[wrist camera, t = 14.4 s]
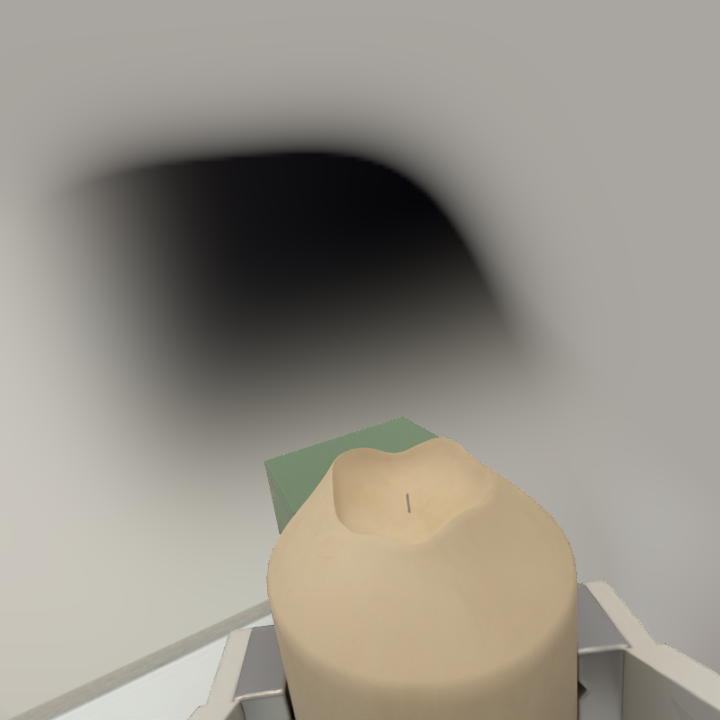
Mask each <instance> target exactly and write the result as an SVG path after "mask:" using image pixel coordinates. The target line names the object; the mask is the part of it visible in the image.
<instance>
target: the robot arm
mask: <svg viewBox="0 0 720 720" xmlns="http://www.w3.org/2000/svg"><path fill="white" fill-rule="evenodd" d="M187 720H296V719H295V715H294V710H293V706H292V701H291V697H290V692H289V688H288V683H287V679H286V674H285V670H284V665H283V661H282V656H281V652H280V648H279V643H278V639H277V634H276V630H275V625H269V626H260V627H254V628H245V629H236V630H232V632H231V633H230V635H229V636H228V638H227V641H226V644H225V647H224V650H223V654H222V657H221V660H220V663H219V666H218V669H217V672H216V675H215V678H214V681H213V684H212V688H211V691H210V694H209V697H208V700H207V703H206V705H204V706H199V707H198V708H197V709H196V710H195V711H194V712H193V714H192V715H191V716H190V717H189V718H188V719H187ZM577 720H720V675H719V674H718V673H716V672H714V671H713V670H711V669H709V668H707V667H706V666H704V665H702V664H700V663H699V662H697V661H695V660H693V659H692V658H690V657H688V656H687V655H685V654H683V653H681V652H680V651H678V650H676V649H674V648H673V647H671V646H669V645H668V644H666V643H665V644H658V643H657V642H656V641H655V639H654V638H653V637H652V636H651V635H650V633H649V632H648V631H647V630H646V628H645V627H644V626H643V625H642V624H641V622H640V621H639V620H638V619H637V618H636V617H635V615H634V614H633V613H632V612H631V610H630V609H629V608H628V607H627V605H626V604H625V603H624V602H623V601H622V599H621V598H620V597H619V596H618V594H617V593H616V592H615V591H614V590H613V589H612V587H611V586H610V585H609V584H608V583H607V582H606V581H604V580H598V581H592V582H585V583H581V584H579V583H577Z"/></svg>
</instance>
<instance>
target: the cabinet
mask: <svg viewBox="0 0 720 720" xmlns="http://www.w3.org/2000/svg"><path fill="white" fill-rule="evenodd" d="M434 438H439V436H437V435H435V434H433V433H431V432H429V431H428V430H426V429H424V428H422V427H421V426H419V425H417V424H415V423H413V422H412V421H410V420H408V419H406V418H405V417H400V418H397V419H394V420H391V421H388V422H385V423H381V424H378V425H375V426H373V427H369V428H366V429H363V430H360V431H357V432H353V433H350V434H348V435H344V436H341V437H338V438H335V439H332V440H329V441H326V442H323V443H319V444H316V445H313V446H310V447H307V448H304V449H301V450H298V451H295V452H291V453H288V454H285V455H282V456H279V457H276V458H273V459H270V460H267V461H265V466H266V471H267V476H268V481H269V486H270V490H271V495H272V500H273V504H274V509H275V514H276V519H277V523H278V529H279V533H280V535H281V533H282V532H283V530H284V528H285V527H286V526H287V524H288V523H289V522H290V520H291V519H292V518H293V516H294V515H295V514H296V513H297V511H298V510H299V509H300V508H301V506H302V505H303V504H304V503H305V501H306V500H307V499H308V498H309V496H310V495H311V494H312V493H313V491H314V490H315V489H316V487H317V486H318V485H319V483H320V482H321V481H322V479H323V478H324V476H325V475H326V473H327V472H328V470H329V468H330V467H331V465H332V463H333V462H334V460H335V459H336V458H337V457H338V456H339V455H341V454H342V453H344V452H346V451H349V450H351V449H356V448H372V449H376V450H380V451H384V452H388V453H399V452H403V451H406V450H408V449H410V448H412V447H414V446H416V445H418V444H420V443H423V442H425V441H428V440H430V439H434Z"/></svg>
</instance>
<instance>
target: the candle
mask: <svg viewBox="0 0 720 720" xmlns="http://www.w3.org/2000/svg"><path fill="white" fill-rule="evenodd" d="M267 591H268V598H269V602H270V607H271V612H272V616H273V621H274V625H275V630H276V634H277V639H278V643H279V648H280V652H281V656H282V661H283V665H284V670H285V674H286V679H287V683H288V688H289V692H290V697H291V701H292V706H293V710H294V715H295V719H296V720H577V572H576V565H575V558H574V555H573V552H572V549H571V547H570V543H569V541H568V540H567V538H566V536H565V534H564V532H563V530H562V529H561V528H560V526H559V525H558V524H557V522H556V521H555V520H554V518H553V517H552V516H551V515H550V514H549V513H548V512H547V511H546V510H545V509H544V508H543V507H542V506H540V505H539V504H538V503H537V502H536V501H534V500H533V499H532V498H531V497H530V496H528V495H527V494H526V493H525V492H523V491H522V490H521V489H519V488H518V487H517V486H515V485H514V484H512V483H511V482H510V481H508V480H507V479H505V478H503V477H502V476H500V475H499V474H497V473H496V472H494V471H493V470H491V469H489V468H488V467H486V466H485V465H483V464H482V463H481V462H479V461H478V460H477V459H475V458H474V457H473V456H471V455H470V454H469V453H468V452H467V451H466V450H465V449H464V448H463V447H461V446H460V445H459V444H458V443H457V442H455V441H453V440H450V439H449V438H441V437H439V438H434V439H430V440H428V441H425V442H423V443H420V444H418V445H416V446H414V447H412V448H410V449H408V450H406V451H403V452H399V453H388V452H384V451H380V450H376V449H372V448H356V449H351V450H349V451H346V452H344V453H342V454H341V455H339V456H338V457H337V458H336V459H335V460H334V462H333V463H332V465H331V467H330V468H329V470H328V472H327V473H326V475H325V476H324V478H323V479H322V481H321V482H320V483H319V485H318V486H317V487H316V489H315V490H314V491H313V493H312V494H311V495H310V496H309V498H308V499H307V500H306V501H305V503H304V504H303V505H302V506H301V508H300V509H299V510H298V511H297V513H296V514H295V515H294V516H293V518H292V519H291V520H290V522H289V523H288V524H287V526H286V527H285V528H284V530H283V532H282V533H281V535H280V536H279V538H278V540H277V542H276V544H275V546H274V548H273V550H272V553H271V557H270V560H269V564H268V571H267Z"/></svg>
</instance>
